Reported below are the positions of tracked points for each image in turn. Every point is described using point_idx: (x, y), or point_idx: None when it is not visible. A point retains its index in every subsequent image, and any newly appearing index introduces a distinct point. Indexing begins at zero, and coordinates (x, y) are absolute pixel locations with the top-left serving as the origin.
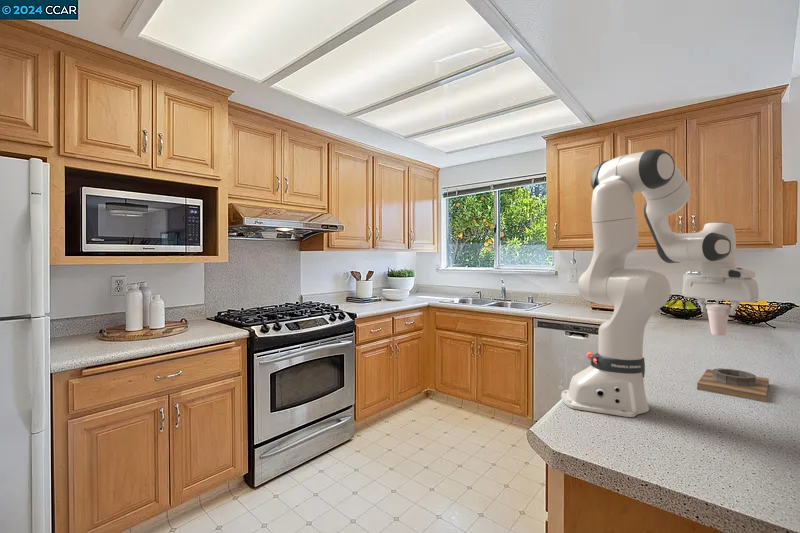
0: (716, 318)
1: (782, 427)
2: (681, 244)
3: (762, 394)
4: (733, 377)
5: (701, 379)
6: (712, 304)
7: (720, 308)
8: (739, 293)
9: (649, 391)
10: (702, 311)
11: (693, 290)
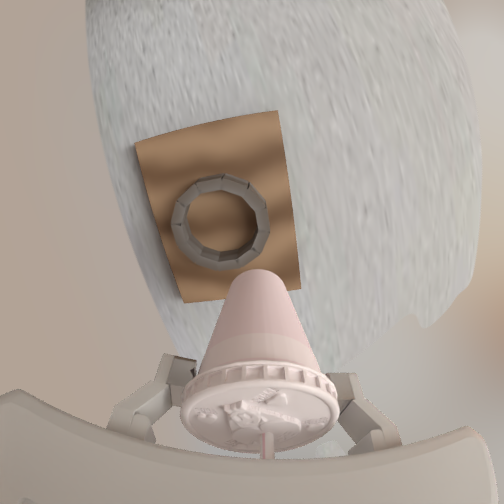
0: (253, 318)
1: (97, 19)
2: None
3: (140, 142)
4: (205, 180)
5: (282, 160)
6: (297, 429)
7: (219, 377)
8: (43, 471)
9: (343, 11)
10: (349, 374)
11: (445, 487)
